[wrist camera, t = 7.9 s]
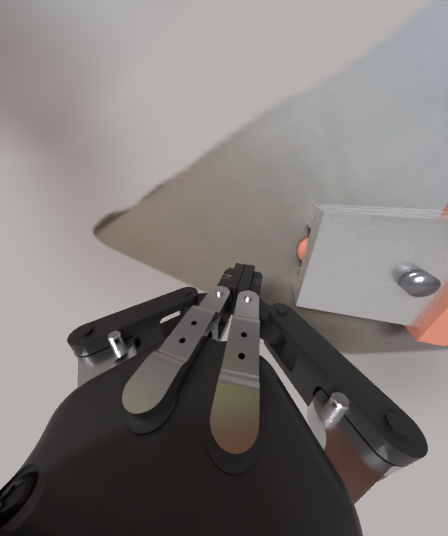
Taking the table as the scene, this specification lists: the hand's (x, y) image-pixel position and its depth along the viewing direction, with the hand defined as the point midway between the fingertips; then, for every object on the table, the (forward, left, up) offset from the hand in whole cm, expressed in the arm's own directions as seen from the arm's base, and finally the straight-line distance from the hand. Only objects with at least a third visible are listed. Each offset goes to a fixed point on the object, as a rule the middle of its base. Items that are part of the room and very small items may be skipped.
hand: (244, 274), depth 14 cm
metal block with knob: (-10, 0, -7) cm, 12 cm away
